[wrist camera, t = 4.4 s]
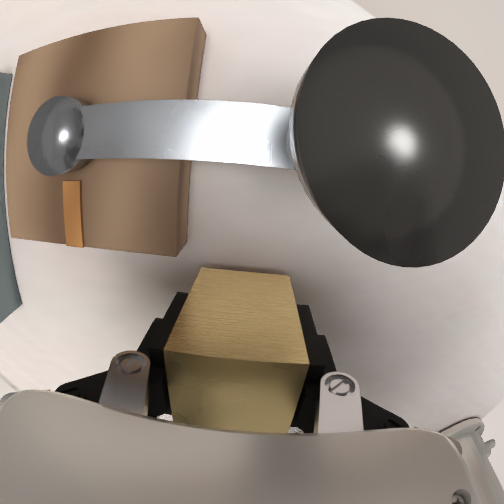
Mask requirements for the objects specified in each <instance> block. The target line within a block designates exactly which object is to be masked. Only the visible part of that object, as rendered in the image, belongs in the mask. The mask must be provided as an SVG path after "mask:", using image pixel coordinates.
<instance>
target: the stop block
mask: <svg viewBox="0 0 504 504" xmlns="http://www.w3.org/2000/svg"><path fill="white" fill-rule="evenodd" d="M164 359H165V367H166V376H167V383H168V391H169V398H170V405H171V411H172V417H173V422H178V423H184V424H190V425H197V426H203V427H211V428H219V429H228V430H238V431H251V432H268V433H288V431H289V428H290V425H291V422H292V419H293V416H294V413H295V410H296V407H297V404H298V401H299V397H300V394H301V391H302V388H303V384H304V381H305V378H306V374H307V371H308V367H309V359H308V355H307V350H306V346H305V341H304V337H303V332H302V328H301V323H300V319H299V314H298V310H297V306H296V302H295V297H294V293H293V289H292V285H291V280H290V276H287V275H276V274H265V273H254V272H244V271H233V270H223V269H213V268H204V267H201V269H200V271H199V273H198V275H197V278H196V280H195V282H194V284H193V286H192V288H191V290H190V292H189V295H188V297H187V299H186V301H185V303H184V305H183V308H182V310H181V312H180V314H179V316H178V319H177V321H176V323H175V325H174V327H173V330H172V332H171V334H170V336H169V339H168V341H167V343H166V345H165V348H164Z"/></svg>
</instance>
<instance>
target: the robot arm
mask: <svg viewBox="0 0 504 504" xmlns="http://www.w3.org/2000/svg"><path fill="white" fill-rule="evenodd" d="M188 295H189V293H183V292H177V294H176V296H175V297H174V299H173V301H172V303H171V305H170V307H169V309H168V310H167V312H166V314H165V316H164V318H163V319H160V318H155V320H154V321H153V323H152V325H151V326H150V328H149V330H148V332H147V333H146V335H145V337H144V339H143V341H142V342H141V344H140V346H139V348H138V350H137V351H124V352H121V353H119V354H117V355H116V356H115V357H113V359H112V361H111V364H110V367H109V370H108V371H105V372H102V373H98V374H95V375H92V376H89V377H85V378H82V379H79V380H75V381H72V382H68V383H65V384H63V385H61V386H59V387H58V388H57V389H56V390H55V392H54V391H51V390H23V391H20V392H14V393H8V394H6V395H4V396H3V397H2V398H1V400H0V504H504V491H503V489H502V486H501V484H500V482H499V480H498V478H497V476H496V474H495V472H494V470H493V468H492V466H491V464H490V462H489V460H488V457H489V456H490V454H491V448H493V447H494V446H495V440H494V439H492V440H489V441H487V442H485V443H484V441H483V439H482V438H481V435H482V433H483V431H484V424H483V422H482V420H481V419H479V418H472V419H468V420H465V421H462V422H460V423H458V424H456V425H454V426H452V427H450V428H448V429H446V430H444V431H443V432H441V433H439V432H436V431H432V430H426V429H420V428H417V427H414V428H409V426H408V424H407V423H406V422H405V420H403V419H402V418H400V417H398V416H396V415H395V414H393V413H391V412H389V411H387V410H385V409H383V408H381V407H379V406H378V405H376V404H374V403H372V402H370V401H368V400H367V399H365V398H363V397H361V396H360V387H359V384H358V382H357V381H356V379H355V378H353V377H352V376H351V375H349V374H346V373H343V372H337V371H336V368H335V365H334V362H333V358H332V355H331V352H330V349H329V346H328V343H327V340H326V337H325V336H324V335H317V332H316V329H315V325H314V322H313V319H312V315H311V312H310V309H309V306H308V305H298V304H296V306H297V310H298V314H299V319H300V323H301V328H302V332H303V337H304V341H305V346H306V350H307V355H308V359H309V367H308V371H307V374H306V378H305V381H304V384H303V388H302V391H301V394H300V397H299V401H298V404H297V407H296V410H295V413H294V416H293V419H292V422H291V425H290V427H298V428H299V429H301V430H302V432H301V433H268V432H251V431H238V430H228V429H219V428H211V427H203V426H197V425H190V424H184V423H178V422H173V421H168V420H163V419H160V418H159V416H160V415H162V414H170V415H172V411H171V405H170V398H169V391H168V383H167V376H166V367H165V359H164V348H165V345H166V343H167V341H168V339H169V336H170V334H171V332H172V330H173V327H174V325H175V323H176V321H177V319H178V316H179V314H180V312H181V310H182V308H183V305H184V303H185V301H186V299H187V297H188Z"/></svg>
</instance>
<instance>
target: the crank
mask: <svg viewBox="0 0 504 504" xmlns="http://www.w3.org/2000/svg"><path fill="white" fill-rule="evenodd" d="M27 151H28V155H29V158H30V161H31V163H32V165H33V166H34V168H35V169H36V170H37V171H38V172H40V173H41V174H43V175H46V176H56V175H60V174H65V173H70V172H74V171H77V170H79V169H80V168H82V167H83V166H84V165H85V164H86V163H87V162H88V161H89V160H90V159H107V158H148V159H180V160H200V161H215V162H228V163H240V164H250V165H260V166H269V167H278V168H286V169H293V170H296V171H297V174H298V177H299V179H300V181H301V183H302V185H303V188H304V190H305V192H306V194H307V195H308V197H309V198H310V200H311V201H312V203H313V204H314V206H315V207H316V208H317V209H318V211H319V212H320V213H321V214H322V215H323V217H324V218H325V219H326V220H327V221H328V222H329V223H330V224H331V225H332V226H333V227H334V228H335V229H336V230H337V231H338V232H339V233H340V234H341V235H342V236H343V237H344V238H345V239H347V240H348V241H349V242H350V243H351V244H352V245H353V246H355V247H356V248H358V249H359V250H360V251H362V252H363V253H365V254H367V255H368V256H370V257H372V258H374V259H376V260H378V261H381V262H384V263H387V264H390V265H395V266H401V267H423V266H430V265H433V264H437V263H440V262H443V261H445V260H447V259H449V258H451V257H453V256H455V255H456V254H458V253H459V252H461V251H463V250H464V249H465V248H466V247H467V246H468V245H470V244H471V243H472V242H473V241H474V240H475V239H476V238H477V236H478V235H479V234H480V233H481V232H482V230H483V229H484V227H485V226H486V225H487V223H488V222H489V220H490V218H491V216H492V214H493V212H494V210H495V208H496V205H497V203H498V200H499V197H500V194H501V191H502V187H503V182H504V128H503V124H502V119H501V115H500V112H499V109H498V106H497V103H496V101H495V99H494V96H493V94H492V92H491V90H490V88H489V86H488V84H487V83H486V81H485V79H484V78H483V76H482V74H481V73H480V71H479V70H478V69H477V67H476V66H475V65H474V63H473V62H472V61H471V60H470V59H469V58H468V56H466V54H465V53H464V52H463V51H462V50H460V49H459V48H458V47H457V46H456V45H455V44H454V43H452V42H451V41H450V40H448V39H447V38H446V37H444V36H443V35H441V34H439V33H438V32H436V31H434V30H432V29H430V28H428V27H426V26H423V25H421V24H418V23H415V22H412V21H408V20H403V19H396V18H375V19H370V20H365V21H361V22H358V23H356V24H353V25H351V26H349V27H347V28H345V29H343V30H342V31H340V32H339V33H337V34H336V35H334V36H333V37H332V38H331V39H330V40H329V41H328V42H327V43H326V44H325V45H324V46H323V47H322V48H321V50H320V51H319V52H318V54H317V55H316V56H315V58H314V59H313V61H312V62H311V64H310V65H309V67H308V68H307V70H306V71H305V73H304V74H303V76H302V78H301V80H300V82H299V84H298V86H297V88H296V91H295V94H294V97H293V101H292V106H291V108H290V107H283V106H275V105H267V104H257V103H247V102H234V101H217V100H144V101H128V102H115V103H105V104H96V105H91V104H90V103H88V102H87V101H85V100H82V99H78V98H73V97H68V96H55V97H52V98H50V99H48V100H47V101H46V102H44V103H43V104H42V105H41V106H40V107H39V108H38V110H37V111H36V113H35V114H34V116H33V118H32V120H31V123H30V126H29V129H28V134H27Z"/></svg>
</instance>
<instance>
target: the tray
mask: <svg viewBox="0 0 504 504" xmlns="http://www.w3.org/2000/svg"><path fill="white" fill-rule="evenodd" d="M11 79H12V74H6V73H0V323H1V322H2V321H3V320H4V319H5V318H7V317H8V316H9V315H10V314H11V313H12V312H13V311H15V310H16V309H17V308H18V307H19V306H20V305H21V304H22V302H21V298H20V294H19V290H18V286H17V282H16V277H15V273H14V268H13V263H12V257H11V252H10V245H9V239H8V231H7V223H6V213H5V200H4V177H3V157H4V134H5V122H6V112H7V104H8V97H9V90H10V84H11Z"/></svg>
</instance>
